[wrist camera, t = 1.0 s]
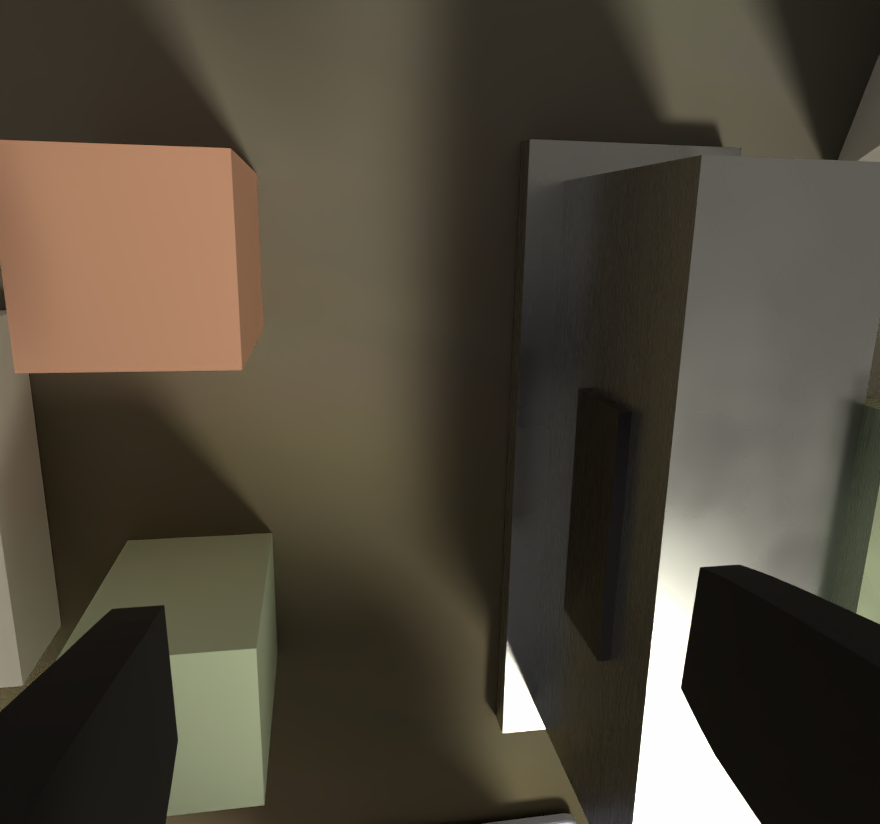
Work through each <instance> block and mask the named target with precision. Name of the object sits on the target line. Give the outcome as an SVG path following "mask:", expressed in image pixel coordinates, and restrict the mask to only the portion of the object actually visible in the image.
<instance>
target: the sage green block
mask: <svg viewBox="0 0 880 824" xmlns="http://www.w3.org/2000/svg"><path fill="white" fill-rule="evenodd" d="M158 605H164V607H165V617H166V626H167V636H168V646H169V656H170V666H171V675H172V685H173V695H174V705H175V715H176V724H177V734H178V744H177V751H176V758H175V765H174V772H173V779H172V786H171V792H170V798H169V804H168V811H167V816H174V815H182V814H191V813H200V812H209V811H217V810H226V809H235V808H244V807H252V806H261V805H265V793H266V782H267V770H268V759H269V748H270V736H271V725H272V713H273V702H274V690H275V679H276V668H277V656H278V649H277V626H276V603H275V581H274V558H273V535H272V533H262V534H243V535H224V536H205V537H186V538H166V539H147V540H128V541H127V542H126V544H125V546H124V547H123V549H122V551H121V552H120V554H119V556H118V557H117V559H116V561H115V562H114V564H113V566H112V567H111V569H110V571H109V572H108V574H107V576H106V577H105V579H104V581H103V582H102V584H101V586H100V587H99V589H98V591H97V592H96V594H95V596H94V597H93V599H92V601H91V602H90V604H89V606H88V607H87V609H86V611H85V612H84V614H83V616H82V617H81V619H80V621H79V622H78V624H77V626H76V627H75V629H74V631H73V632H72V634H71V636H70V637H69V639H68V641H67V642H66V644H65V646H64V647H63V649H62V651H61V652H60V654H59V656H58V657H57V659H58V658H60V657H61V656H62V655H63V654H64V653H65V652H66V651H67V650H68V649H69V648H70V647H71V646H72V645H73V644H74V643H75V642H76V641H78V640H79V639H80V638H81V637H82V636H83V635H84V634H85V633H86V632H87V631H88V630H89V629H90V628H91V627H92V626H93V625H95V624H96V623H97V622H98V621H99V620H100V619H101V618H102V617H103V616H104V615H106V614H107V613H108V612H109V611H110V610H111V609H116V608H130V607H144V606H158ZM57 659H56V660H57Z"/></svg>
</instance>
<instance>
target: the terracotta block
mask: <svg viewBox="0 0 880 824" xmlns="http://www.w3.org/2000/svg"><path fill="white" fill-rule="evenodd" d="M0 264H1V272H2V280H3V287H4V295H5V302H6V310H7V317H8V325H9V333H10V340H11V348H12V355H13V363H14V370H15V373H76V372H144V371H212V370H242V369H243V367H244V365H245V363H246V362H247V360H248V358H249V356H250V354H251V352H252V350H253V348H254V346H255V344H256V342H257V340H258V338H259V336H260V334H261V332H262V330H263V308H262V285H261V262H260V240H259V217H258V194H257V173H255V172H254V171H253V170H252V169H251V168H250V167H249V166H248V165H247V164H246V163H245V162H244V161H243V160H242V159H241V158H240V157H239V156H238V155H237V154H236V153H235V152H234V151H233V150H232V149H231V148H211V147H183V146H156V145H128V144H101V143H73V142H45V141H18V140H0Z"/></svg>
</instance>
